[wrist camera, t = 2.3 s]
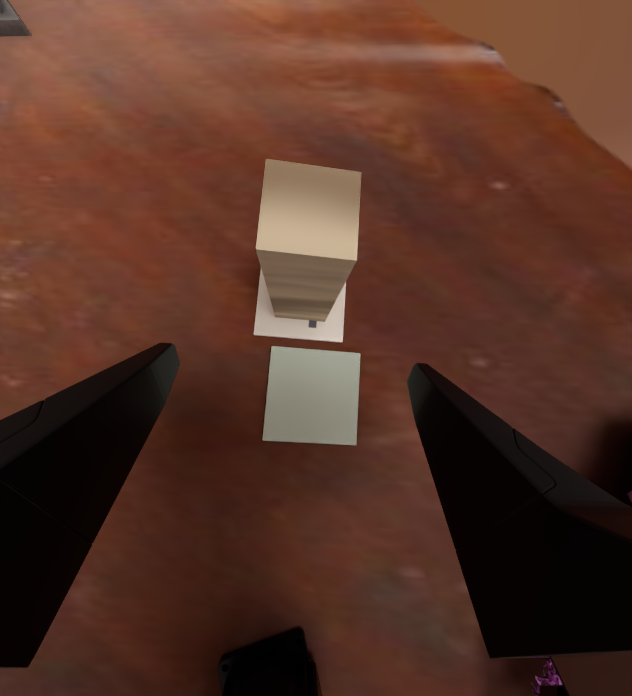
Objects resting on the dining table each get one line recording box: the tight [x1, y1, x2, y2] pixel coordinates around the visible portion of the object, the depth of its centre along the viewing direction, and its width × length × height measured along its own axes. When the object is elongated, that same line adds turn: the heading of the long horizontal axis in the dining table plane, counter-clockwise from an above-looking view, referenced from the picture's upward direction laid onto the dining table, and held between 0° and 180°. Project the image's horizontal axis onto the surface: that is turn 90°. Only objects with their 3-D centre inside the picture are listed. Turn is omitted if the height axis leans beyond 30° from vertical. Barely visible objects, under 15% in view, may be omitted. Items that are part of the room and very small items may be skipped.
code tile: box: [254, 269, 346, 343], centre depth 23 cm, size 8×8×1 cm
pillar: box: [256, 159, 361, 322], centre depth 17 cm, size 4×4×12 cm
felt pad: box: [263, 346, 360, 445], centre depth 22 cm, size 8×8×1 cm
